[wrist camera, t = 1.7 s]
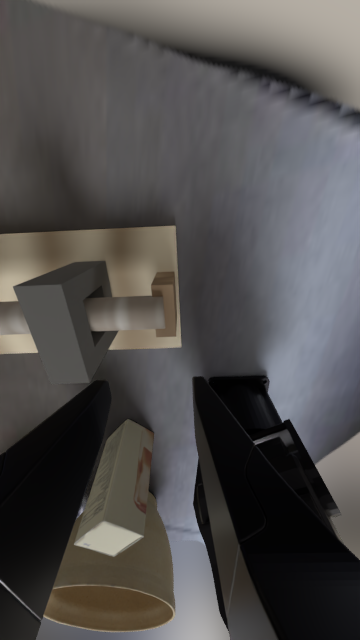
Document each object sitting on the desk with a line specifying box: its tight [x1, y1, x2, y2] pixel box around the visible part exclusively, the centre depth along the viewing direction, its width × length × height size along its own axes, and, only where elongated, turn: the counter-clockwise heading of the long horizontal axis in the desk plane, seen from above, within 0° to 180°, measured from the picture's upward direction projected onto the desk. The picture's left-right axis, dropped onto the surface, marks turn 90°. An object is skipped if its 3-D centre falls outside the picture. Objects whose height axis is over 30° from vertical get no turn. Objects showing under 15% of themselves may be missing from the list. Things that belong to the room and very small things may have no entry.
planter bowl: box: [43, 491, 175, 632], centre depth 29 cm, size 16×16×11 cm
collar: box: [13, 261, 119, 384], centre depth 15 cm, size 2×6×7 cm, turn 2°
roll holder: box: [0, 226, 181, 354], centre depth 17 cm, size 22×11×6 cm, turn 93°
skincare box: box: [74, 419, 154, 557], centre depth 23 cm, size 5×4×10 cm
